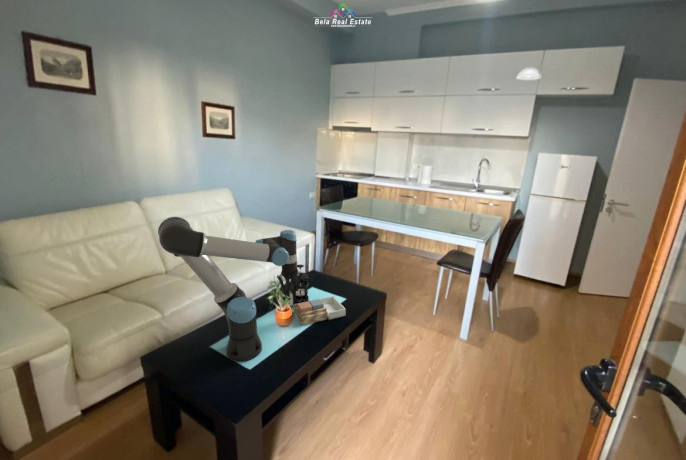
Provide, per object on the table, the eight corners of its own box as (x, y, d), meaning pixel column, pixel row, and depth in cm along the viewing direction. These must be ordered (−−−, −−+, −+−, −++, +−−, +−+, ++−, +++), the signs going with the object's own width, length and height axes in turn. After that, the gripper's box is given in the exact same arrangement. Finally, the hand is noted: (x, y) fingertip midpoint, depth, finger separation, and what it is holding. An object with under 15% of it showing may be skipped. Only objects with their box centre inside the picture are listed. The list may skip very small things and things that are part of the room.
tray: (328, 319, 167) (328, 313, 166) (317, 305, 181) (317, 299, 180) (345, 315, 172) (346, 309, 170) (333, 302, 185) (333, 296, 184)
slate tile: (313, 311, 167) (313, 306, 166) (309, 306, 172) (309, 301, 172) (323, 308, 170) (323, 303, 169) (319, 303, 175) (319, 298, 174)
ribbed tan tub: (302, 325, 162) (302, 315, 160) (293, 312, 174) (293, 303, 172) (327, 319, 168) (327, 309, 166) (317, 306, 180) (317, 297, 178)
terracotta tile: (301, 314, 164) (301, 308, 164) (297, 308, 170) (297, 303, 169) (312, 311, 167) (312, 306, 166) (308, 306, 172) (308, 301, 171)
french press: (313, 302, 184) (313, 265, 178) (300, 308, 177) (300, 270, 171) (299, 295, 192) (298, 260, 185) (287, 301, 185) (286, 264, 178)
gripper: (278, 266, 151) (280, 310, 157) (304, 261, 156) (305, 304, 163) (274, 260, 157) (276, 303, 164) (299, 256, 163) (300, 298, 170)
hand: (290, 304), depth 164 cm, fingers closed
